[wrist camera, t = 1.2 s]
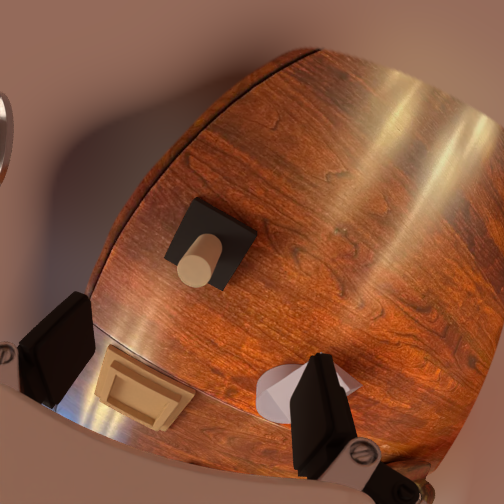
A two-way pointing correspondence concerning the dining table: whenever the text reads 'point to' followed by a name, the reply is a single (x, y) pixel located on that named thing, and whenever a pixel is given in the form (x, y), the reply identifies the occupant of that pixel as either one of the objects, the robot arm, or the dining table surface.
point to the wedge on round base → (288, 390)
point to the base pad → (140, 391)
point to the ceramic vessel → (416, 476)
